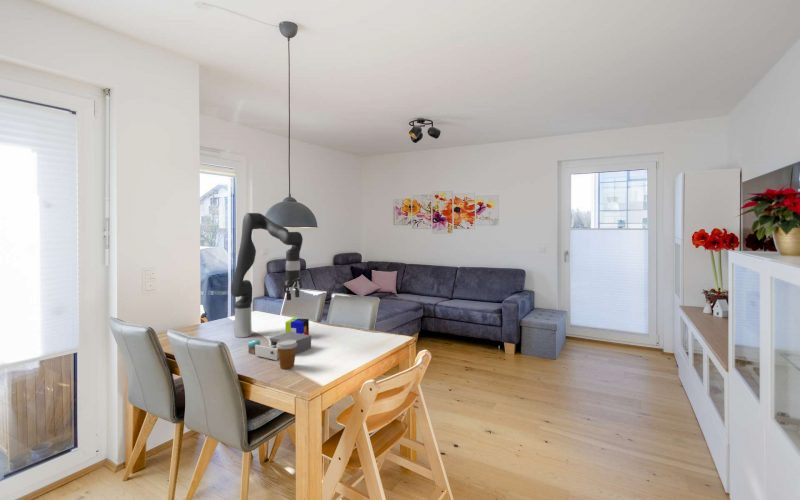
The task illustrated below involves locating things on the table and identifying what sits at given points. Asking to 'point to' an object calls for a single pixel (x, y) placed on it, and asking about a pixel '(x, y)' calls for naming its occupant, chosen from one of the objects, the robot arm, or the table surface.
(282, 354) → the disposable coffee cup
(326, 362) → the table surface
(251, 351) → the walnut block
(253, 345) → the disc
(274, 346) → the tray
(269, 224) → the robot arm
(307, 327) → the puzzle toy
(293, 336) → the block
